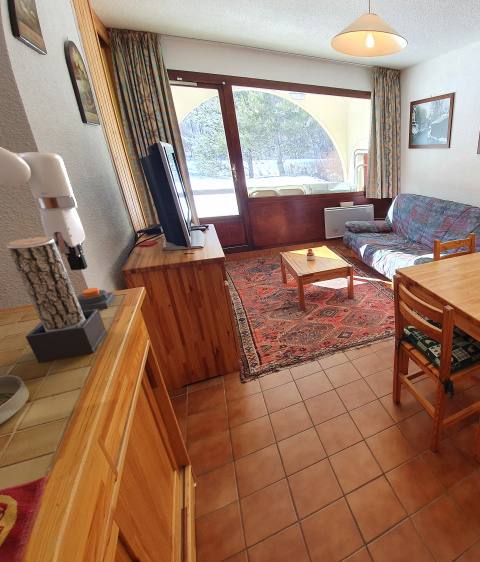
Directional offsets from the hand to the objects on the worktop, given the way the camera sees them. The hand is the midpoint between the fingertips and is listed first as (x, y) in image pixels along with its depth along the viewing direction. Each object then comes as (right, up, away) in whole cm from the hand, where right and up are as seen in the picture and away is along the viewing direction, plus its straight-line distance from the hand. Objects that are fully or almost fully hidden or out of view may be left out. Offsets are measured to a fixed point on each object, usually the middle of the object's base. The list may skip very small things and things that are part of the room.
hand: (79, 268), depth 88 cm
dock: (+13, -19, -14) cm, 27 cm away
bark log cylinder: (+13, -19, -14) cm, 27 cm away
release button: (0, -8, +4) cm, 9 cm away
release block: (0, -11, +5) cm, 12 cm away
